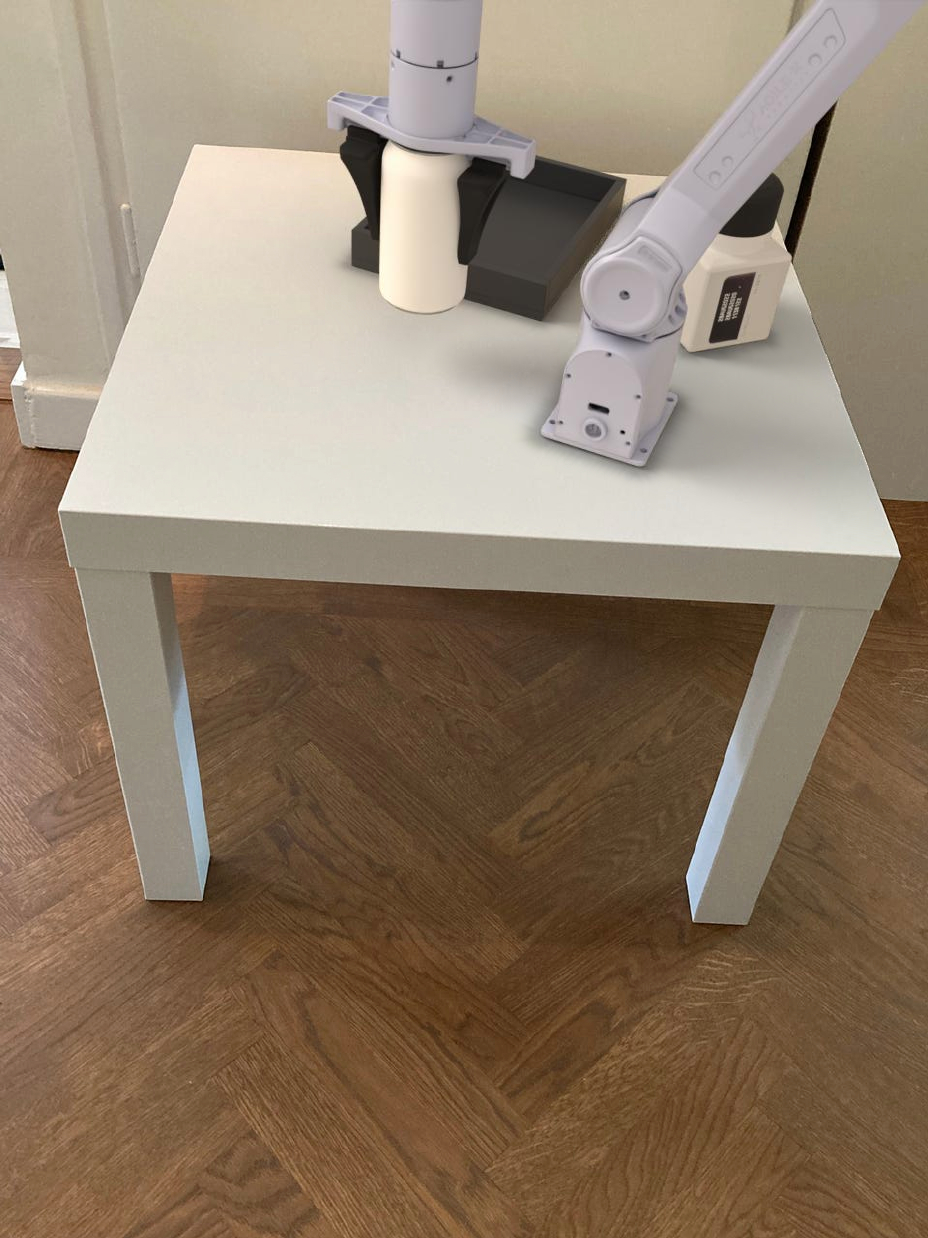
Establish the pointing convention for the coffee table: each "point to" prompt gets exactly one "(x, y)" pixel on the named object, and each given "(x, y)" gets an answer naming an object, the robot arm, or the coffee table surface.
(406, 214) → the can
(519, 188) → the tray
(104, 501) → the coffee table surface
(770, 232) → the container
